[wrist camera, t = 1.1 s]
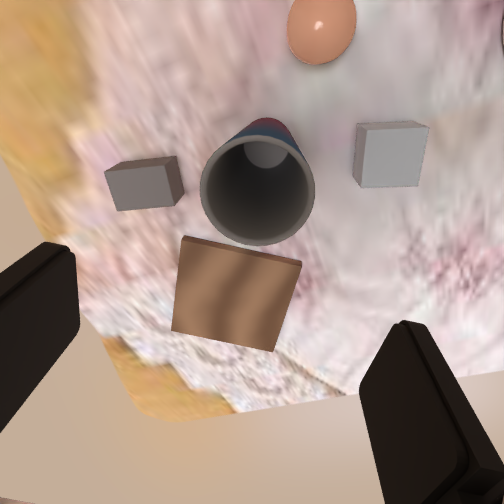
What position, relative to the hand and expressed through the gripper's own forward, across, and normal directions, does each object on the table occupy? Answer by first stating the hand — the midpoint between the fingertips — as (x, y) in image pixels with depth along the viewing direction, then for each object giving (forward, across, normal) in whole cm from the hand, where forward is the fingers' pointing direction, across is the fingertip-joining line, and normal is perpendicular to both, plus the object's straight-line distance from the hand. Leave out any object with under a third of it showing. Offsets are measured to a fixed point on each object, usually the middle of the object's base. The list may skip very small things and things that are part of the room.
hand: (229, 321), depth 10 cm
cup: (+26, 0, 0) cm, 26 cm away
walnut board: (+26, 0, +19) cm, 32 cm away
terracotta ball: (+26, -2, -10) cm, 28 cm away
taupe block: (+26, +11, +6) cm, 29 cm away
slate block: (+26, -11, -2) cm, 29 cm away
